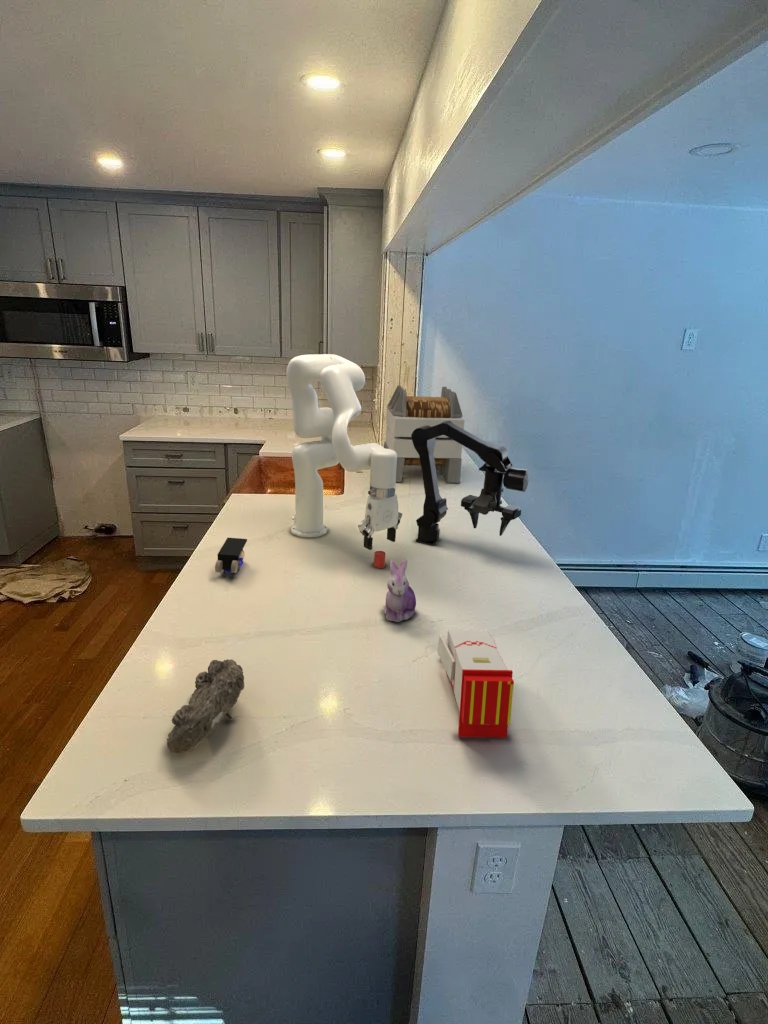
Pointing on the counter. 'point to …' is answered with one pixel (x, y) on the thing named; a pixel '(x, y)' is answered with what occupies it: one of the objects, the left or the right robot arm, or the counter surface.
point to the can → (379, 559)
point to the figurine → (399, 594)
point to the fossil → (206, 705)
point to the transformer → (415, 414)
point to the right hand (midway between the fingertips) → (487, 531)
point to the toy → (478, 682)
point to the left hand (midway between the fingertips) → (379, 544)
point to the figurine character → (230, 556)
